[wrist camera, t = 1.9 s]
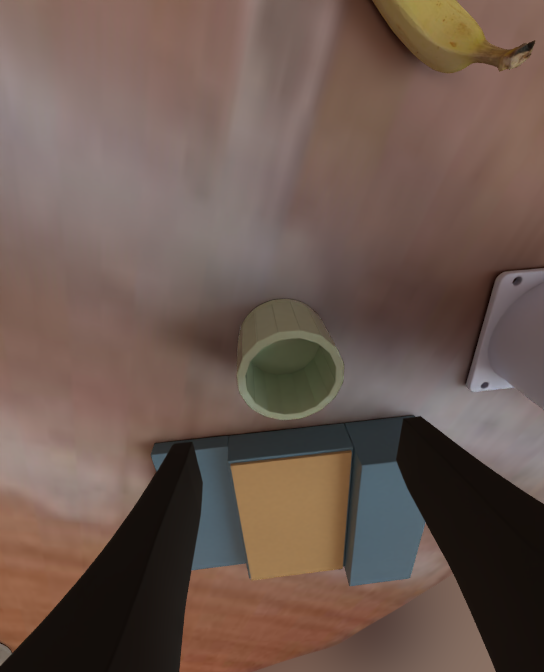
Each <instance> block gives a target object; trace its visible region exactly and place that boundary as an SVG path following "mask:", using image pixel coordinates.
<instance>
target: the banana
mask: <svg viewBox="0 0 544 672" xmlns="http://www.w3.org/2000/svg"><path fill="white" fill-rule="evenodd" d="M373 2H374V4H375V5H376V7H377V9H378V10H379V12H380V13H381V15H382V16H383V18H384V19H385V20H386V22H387V24H388V25H389V27H390V28H391V29H392V31H393V32H394V33H395V35H396V36H397V37H398V38H399V39H400V40H401V41H402V43H403V44H404V45H405V46H406V47H407V48H408V49H409V50H410V51H411V52H412V53H413V54H414V55H415V56H416V57H417V58H418V59H419V60H420V61H422V62H423V63H424V64H426V65H427V66H429V67H430V68H432V69H434V70H436V71H439V72H442V73H454V72H457V71H460V70H462V69H464V68H466V67H467V66H469V65H470V64H472V63H485V64H489V65H493V66H496V67H497V68H498V70H499V72H500V71H503V70H505V69H509V70H510V69H513V68H516V67H518V66H520V65H521V64H522V63H523V62H524V61H526V59H527V58H529V56H530V55H531V52H532V50H533V47H534V44H535V40H534V41H532V42H530V43H528V44H527V43H524V44H522V45H520V46H519V47H516V48H514V49H511V50H507V49H502V48H499V47H496V46H494V45H492V44H490V43H489V42H488V41H487V40H486V39H485V36H484V34H483V32H482V29H481V28H480V27H479V25H478V24H477V22H476V21H475V20H474V19H473V18H472V17H471V16H470V15H469V14H468V13H467V12H466V11H465V10H464V9H463V8H462V7H461V5H460V4H459V3H458V2H457V1H456V0H373Z"/></svg>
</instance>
